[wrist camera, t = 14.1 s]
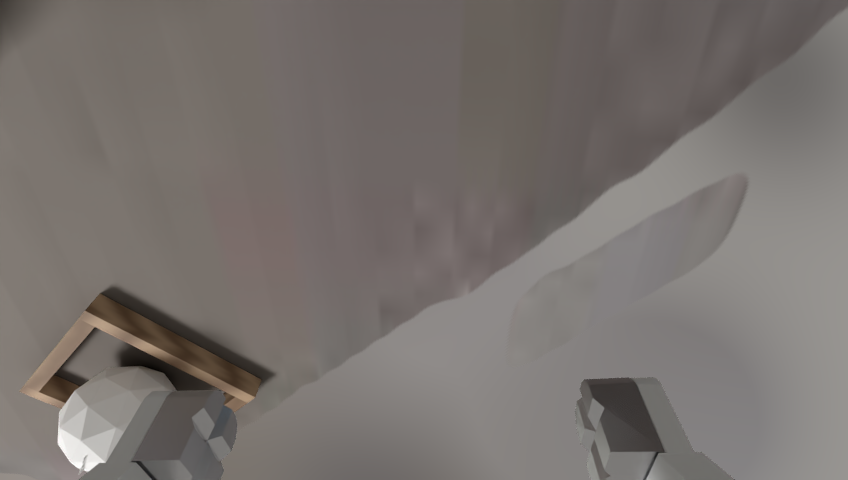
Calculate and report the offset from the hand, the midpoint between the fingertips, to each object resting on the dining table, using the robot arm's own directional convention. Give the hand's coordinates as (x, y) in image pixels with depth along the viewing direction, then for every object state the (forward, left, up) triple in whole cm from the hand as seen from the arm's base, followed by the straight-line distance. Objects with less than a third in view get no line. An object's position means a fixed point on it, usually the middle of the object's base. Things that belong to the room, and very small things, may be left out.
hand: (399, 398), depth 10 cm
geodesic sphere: (+5, -62, -34) cm, 71 cm away
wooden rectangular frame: (+5, -62, -34) cm, 71 cm away
